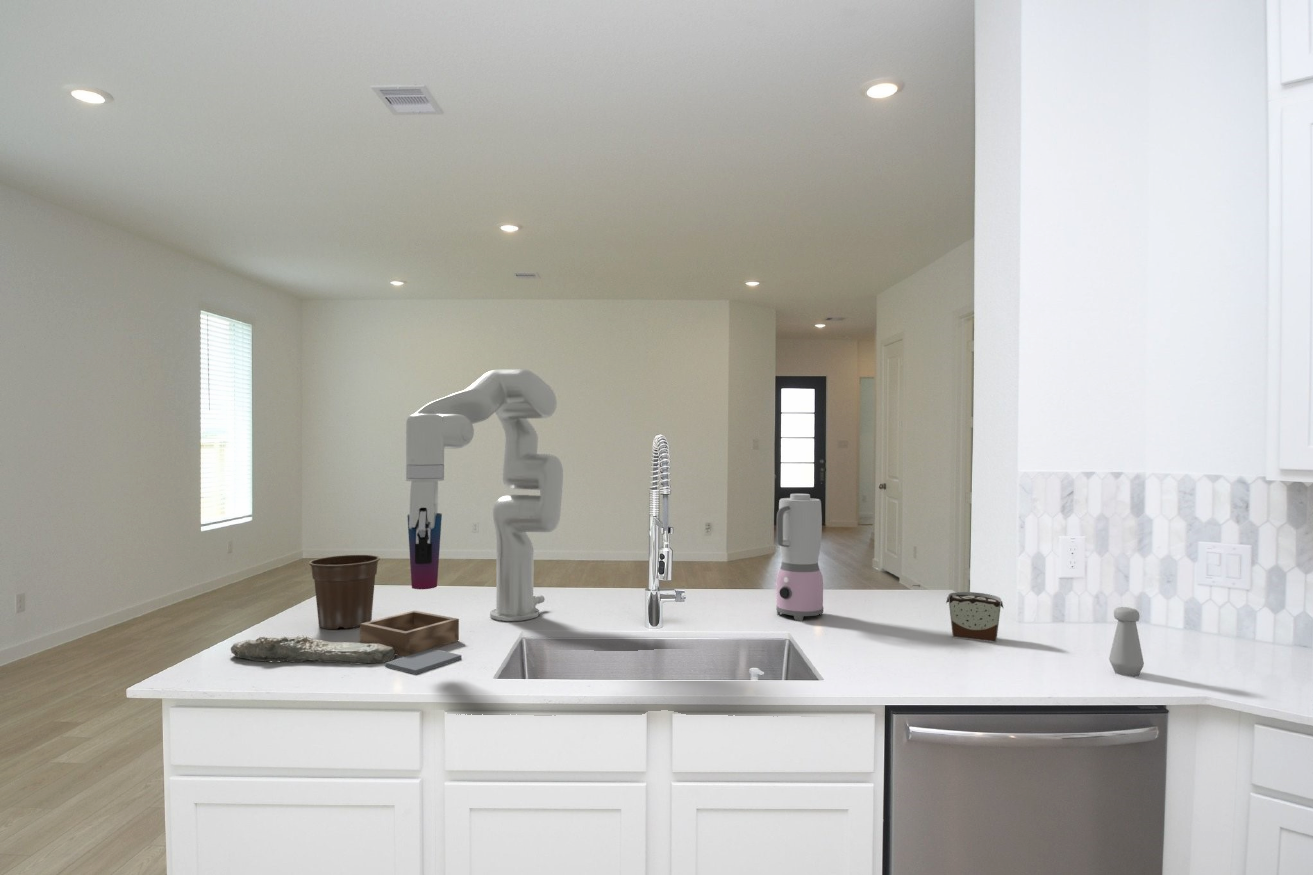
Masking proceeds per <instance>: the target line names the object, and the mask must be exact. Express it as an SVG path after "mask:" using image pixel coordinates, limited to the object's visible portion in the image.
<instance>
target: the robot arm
mask: <svg viewBox="0 0 1313 875" xmlns="http://www.w3.org/2000/svg"><path fill="white" fill-rule="evenodd" d="M557 404H558V403H557V396H556V393H555V392H554V390H553V389H552V387H551V386H550V385H549V384H548V383H546V381H544V380H543V379H542V378H541V377H540V376H539V375H537V374H536V373H534V372H533V371H531V370H529V369H526V368H506V369H505V368H504V369H503V368H501V369H499V368H498V369H492V370H489V371H486V372H485V373H484V374H483V375H481V376H480V377H479V378H478V379H477V380H475V381H474V382H473V383H472V384H471V385H469V386H468V387H466V388H465V389H464V390H461V391H458V392H455V393H452V394H449V395H447V396H445V397H440V398H439V399H436V400H433V401H431V402H429V403H427V404H425V405H424V406H422V407H421V408H420V409H418V410H417V411H416V412H415V413H413V414H410V415H408V416H407V419H406V422H405V423H406V424H405V425H406V426H405V435H406V436H405V437H406V438H405V440H406V441H405V443H406V444H405V448H406V449H405V481H407V482H410V489H409V490H410V492H409V514H410V515H409V529H410V530H413V529H412V527H415V526H416V523H417V528H416V544H415V563H416V564H430V563H431V562H432V543H430V542H431V529H433V528H434V526H435V518H436V515H437V513H438V506H439V505H438V504H439V482H442V481H445V449H447V450H449V449H451V450H452V449H453V450H454V449H455V450H456V449H457V450H458V449H462V448H464V447H466V446H468V445H469V444H470V443H471V442H472V441H473V438H474V435H475V429H474V425H475V424H477V423H478V424H479V423H482V422H484V421H487V420H488V419H489V418H491V416H492V415H494V414H495V415H496V416H497V418H498V420H499V422H500V423H501V425H502V429H503V431H504V436H505V437H504V438H505V439H504V440H505V442H504V454H503V455H504V456H503V466H502V467H503V468H502V481H503V484H504V485H505V487H507V488H508V489H511V490H520V491H521V490H522V491H539V494H540V495H535V494H534V495H533V494H532V495H531V494H506V495H502V496H500V497H499V498H498V499H496V501H495V502H494V504H493V508H492V518H493V524H494V529H495V540H496V596H495V598H496V600H495V601H496V604H495V607H496V608H495V609H493V610H492V609H491V611H490V613H489V616H490V618H491V619H493V620H496V621H501V620H502V622H503V621H505V622H518V621H520V622H521V621H526V620H532V619H535V618H537V617H539V615H540V610H539V608H537V607H536V606H537V605H538V604H542V603H544V602H545V600H546V599H545V597H544V595H542V594H541V595H538V596H536V595H534V572H535V571H534V562H535V561H534V560H535V559H534V558H535V556H534V549H535V548H534V544H533V542H532V540H531V539H530V536H529V535H528V533H553V531H555V530H556V529H557V528H558V526H559V523H560V519H561V518H560V517H561V510H562V497H563V485H564V469H563V465H562V462H561V460H560V458H559V457H557V456H556V455H554V454H550V453H549V454H548V453H547V454H546V453H538V442H539V436H538V433H537V430H536V429H535V427H534V426H533V424H532V423H531V422H530V421H529V419H547V418H550V417H551V416H553V414H555V412H556V409H557ZM426 515H427V520H426ZM418 519H419V522H418ZM426 524H429V528H426ZM427 532H428V533H427ZM427 536H428V537H427Z"/></svg>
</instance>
